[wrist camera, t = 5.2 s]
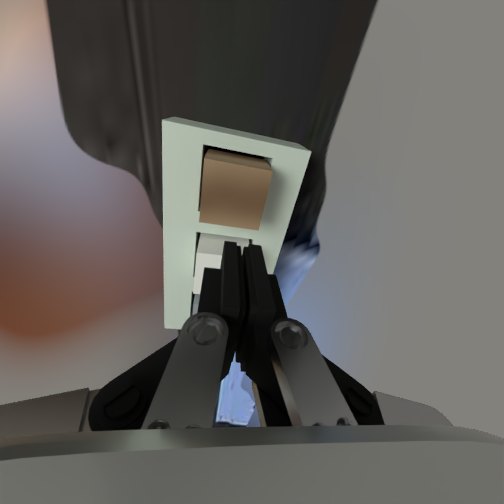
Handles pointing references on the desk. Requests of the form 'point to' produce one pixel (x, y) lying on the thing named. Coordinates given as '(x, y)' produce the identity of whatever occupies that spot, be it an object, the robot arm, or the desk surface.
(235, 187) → the walnut key
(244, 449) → the robot arm
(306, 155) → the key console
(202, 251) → the white key
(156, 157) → the desk surface
